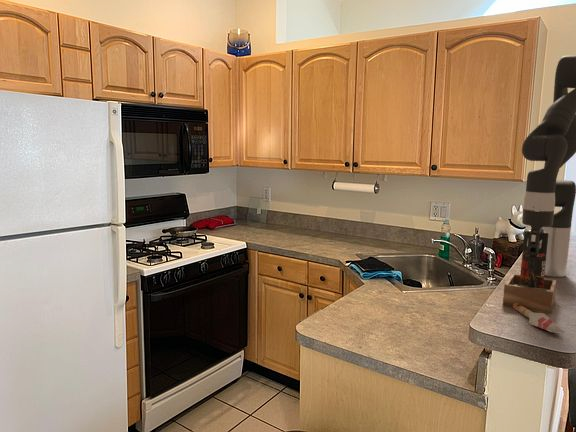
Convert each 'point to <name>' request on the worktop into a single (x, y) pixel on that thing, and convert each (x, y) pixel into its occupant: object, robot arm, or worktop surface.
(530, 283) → the deodorant
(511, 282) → the walled box
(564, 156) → the robot arm
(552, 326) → the paintbrush
